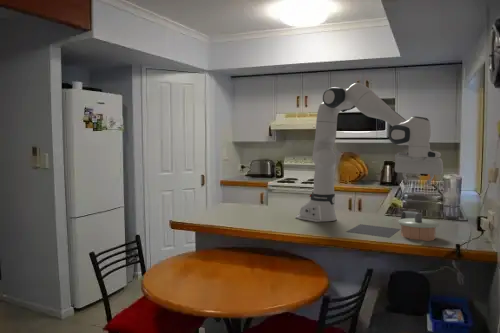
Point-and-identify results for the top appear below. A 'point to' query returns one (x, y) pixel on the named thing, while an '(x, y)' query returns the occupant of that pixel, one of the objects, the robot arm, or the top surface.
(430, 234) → the bowl
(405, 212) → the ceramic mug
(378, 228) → the mat
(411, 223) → the lid
